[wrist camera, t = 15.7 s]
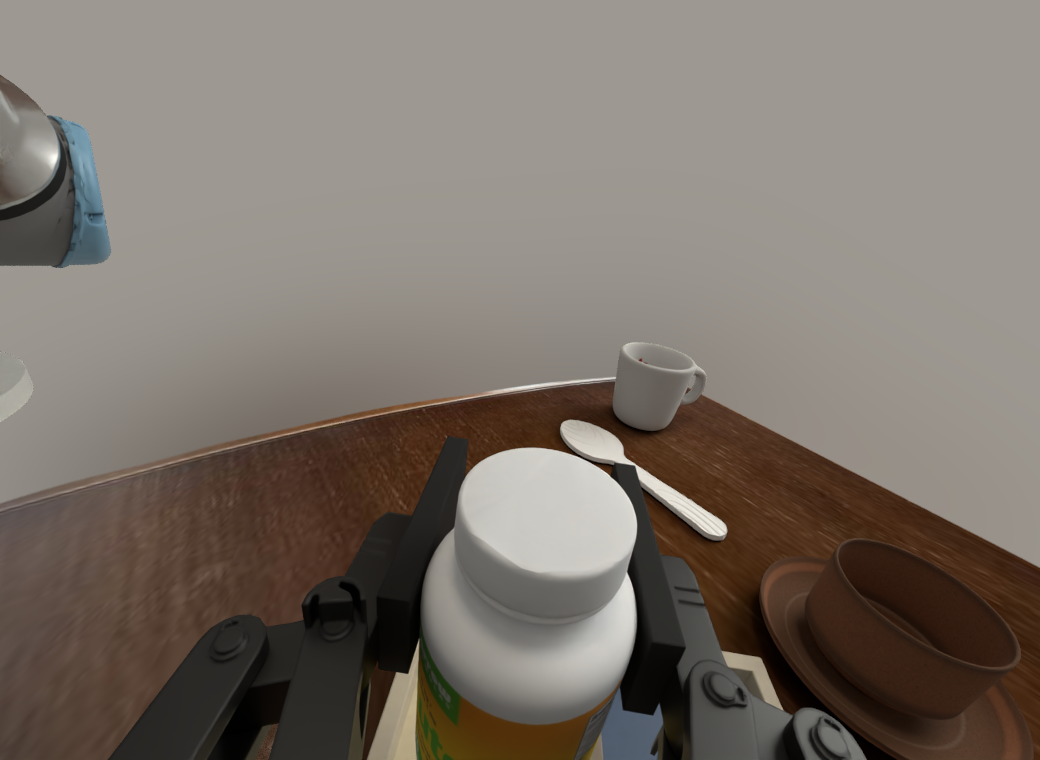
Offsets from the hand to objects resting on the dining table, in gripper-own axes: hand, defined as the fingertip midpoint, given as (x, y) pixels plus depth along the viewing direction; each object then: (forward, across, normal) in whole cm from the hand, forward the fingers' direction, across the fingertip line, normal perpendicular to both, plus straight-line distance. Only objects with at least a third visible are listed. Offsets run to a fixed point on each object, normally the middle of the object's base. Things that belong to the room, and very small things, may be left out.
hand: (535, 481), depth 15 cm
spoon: (+19, +10, -12) cm, 25 cm away
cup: (+30, +14, -13) cm, 35 cm away
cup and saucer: (+4, +21, -13) cm, 25 cm away
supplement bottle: (-5, 0, -6) cm, 8 cm away
